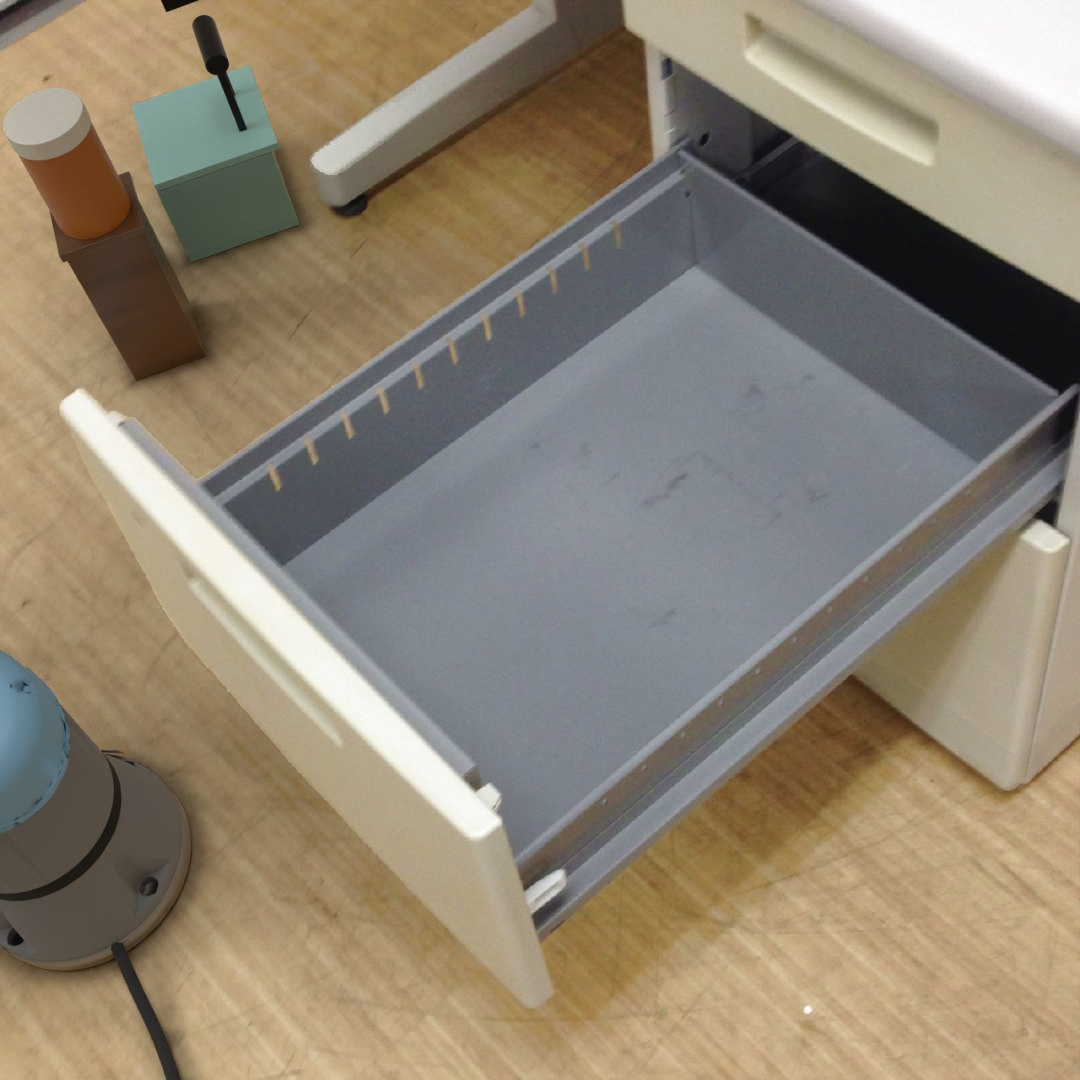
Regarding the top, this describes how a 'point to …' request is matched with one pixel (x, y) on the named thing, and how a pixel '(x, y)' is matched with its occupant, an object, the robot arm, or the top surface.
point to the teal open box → (229, 207)
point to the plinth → (135, 291)
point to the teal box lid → (205, 119)
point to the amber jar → (67, 162)
